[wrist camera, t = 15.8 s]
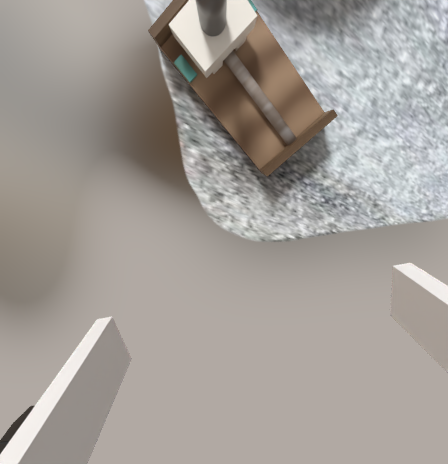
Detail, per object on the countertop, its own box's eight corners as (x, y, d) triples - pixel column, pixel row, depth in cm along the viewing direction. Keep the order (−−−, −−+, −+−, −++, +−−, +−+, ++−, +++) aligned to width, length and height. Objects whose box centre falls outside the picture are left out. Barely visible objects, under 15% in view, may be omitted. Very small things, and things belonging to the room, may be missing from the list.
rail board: (322, 119, 36) (337, 115, 31) (261, 172, 39) (267, 176, 34) (222, -29, 30) (222, -61, 25) (158, 46, 33) (148, 30, 28)
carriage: (252, 33, 30) (277, -58, 17) (207, 81, 32) (196, 34, 19) (221, -12, 29) (221, -152, 15) (175, 41, 31) (139, -42, 17)
